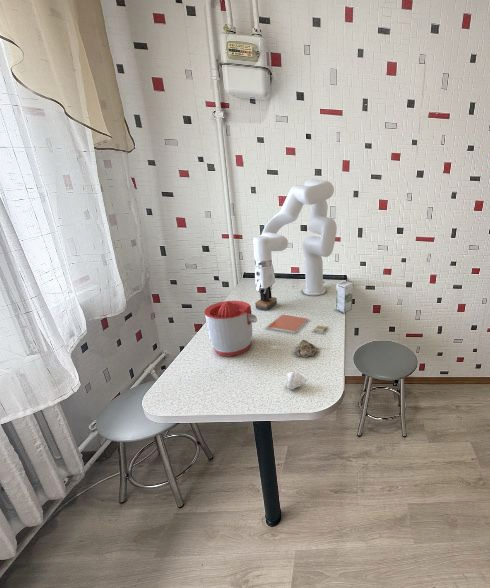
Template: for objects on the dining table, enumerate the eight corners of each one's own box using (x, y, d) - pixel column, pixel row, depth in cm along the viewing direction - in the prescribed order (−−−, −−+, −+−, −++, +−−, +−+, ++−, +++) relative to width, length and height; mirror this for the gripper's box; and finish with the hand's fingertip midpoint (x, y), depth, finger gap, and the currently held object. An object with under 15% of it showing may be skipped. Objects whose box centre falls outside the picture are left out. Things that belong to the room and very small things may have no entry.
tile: (282, 316, 155) (282, 314, 154) (308, 320, 152) (308, 318, 152) (267, 328, 143) (267, 326, 143) (295, 333, 140) (295, 331, 140)
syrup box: (343, 306, 169) (343, 280, 163) (352, 310, 166) (352, 283, 160) (335, 310, 164) (335, 282, 159) (344, 313, 161) (345, 285, 156)
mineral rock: (320, 351, 124) (299, 348, 121) (317, 361, 125) (296, 359, 122) (315, 338, 133) (295, 335, 130) (312, 348, 134) (293, 345, 131)
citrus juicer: (255, 359, 121) (250, 309, 114) (204, 361, 118) (196, 310, 111) (262, 338, 135) (258, 292, 128) (217, 339, 132) (210, 293, 125)
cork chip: (318, 327, 146) (318, 324, 146) (327, 329, 145) (326, 326, 145) (314, 332, 143) (314, 328, 142) (323, 333, 142) (323, 330, 141)
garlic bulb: (305, 392, 105) (305, 378, 103) (286, 392, 105) (285, 378, 103) (308, 381, 110) (307, 368, 108) (289, 381, 110) (289, 368, 108)
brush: (266, 301, 166) (264, 284, 163) (276, 303, 165) (275, 286, 162) (255, 308, 158) (254, 290, 155) (267, 310, 157) (265, 292, 153)
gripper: (260, 268, 145) (263, 306, 152) (279, 259, 160) (281, 294, 167) (245, 266, 147) (249, 304, 153) (265, 257, 162) (268, 292, 168)
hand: (266, 299), depth 160 cm, fingers closed on brush, 3 cm apart
